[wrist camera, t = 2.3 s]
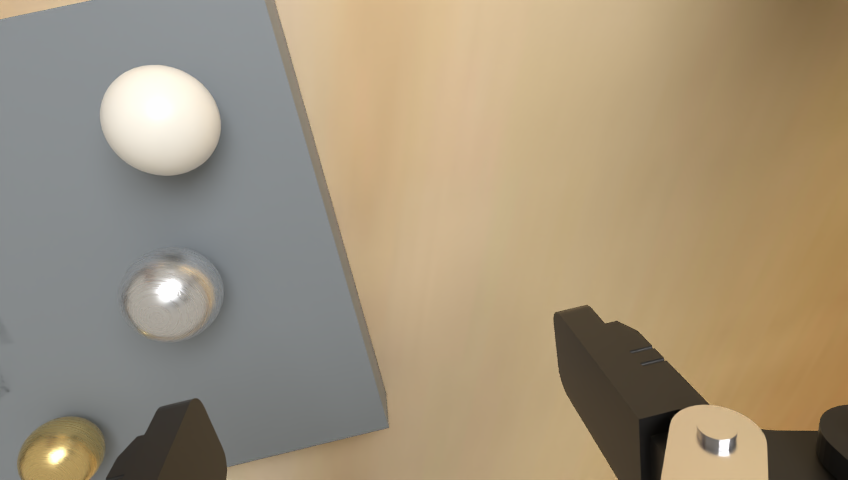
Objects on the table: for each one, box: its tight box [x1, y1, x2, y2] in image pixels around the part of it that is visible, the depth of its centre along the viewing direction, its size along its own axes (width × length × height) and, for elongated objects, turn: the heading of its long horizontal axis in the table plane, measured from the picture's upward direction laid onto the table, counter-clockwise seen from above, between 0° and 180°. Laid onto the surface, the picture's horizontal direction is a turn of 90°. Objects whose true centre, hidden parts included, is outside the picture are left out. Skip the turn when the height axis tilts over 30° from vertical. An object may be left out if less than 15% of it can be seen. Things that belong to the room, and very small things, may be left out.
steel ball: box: [118, 247, 224, 342], centre depth 19 cm, size 4×4×4 cm
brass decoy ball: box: [17, 416, 105, 480], centre depth 21 cm, size 3×3×3 cm
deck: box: [0, 0, 389, 480], centre depth 22 cm, size 24×20×2 cm
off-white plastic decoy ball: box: [100, 65, 221, 176], centre depth 17 cm, size 4×4×4 cm
